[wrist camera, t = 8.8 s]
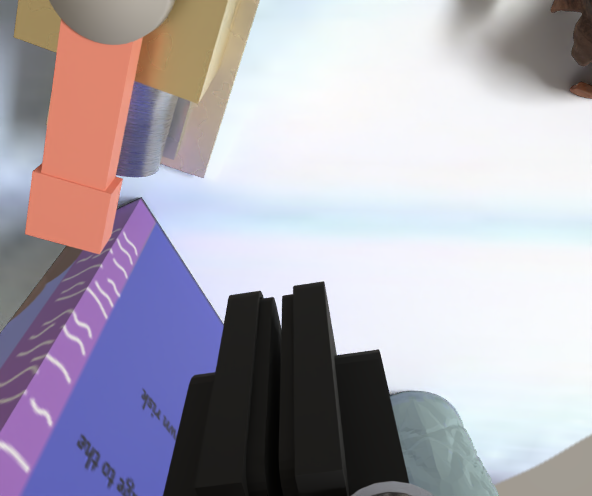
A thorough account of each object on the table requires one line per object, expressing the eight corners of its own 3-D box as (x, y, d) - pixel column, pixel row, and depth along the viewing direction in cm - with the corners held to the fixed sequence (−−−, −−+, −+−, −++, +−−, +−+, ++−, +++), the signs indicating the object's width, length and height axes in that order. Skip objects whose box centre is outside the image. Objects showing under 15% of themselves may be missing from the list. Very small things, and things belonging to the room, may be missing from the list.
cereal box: (82, 224, 39) (-170, 557, 17) (141, 197, 38) (-49, 512, 16) (206, 397, 46) (135, 777, 25) (258, 378, 45) (230, 755, 24)
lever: (67, -112, 20) (48, -117, 18) (189, -66, 20) (181, -68, 19) (28, 213, 26) (10, 230, 24) (124, 239, 26) (113, 258, 25)
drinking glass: (328, 433, 48) (339, 569, 37) (412, 361, 44) (451, 489, 34) (412, 483, 51) (444, 622, 41) (496, 420, 48) (555, 554, 37)
